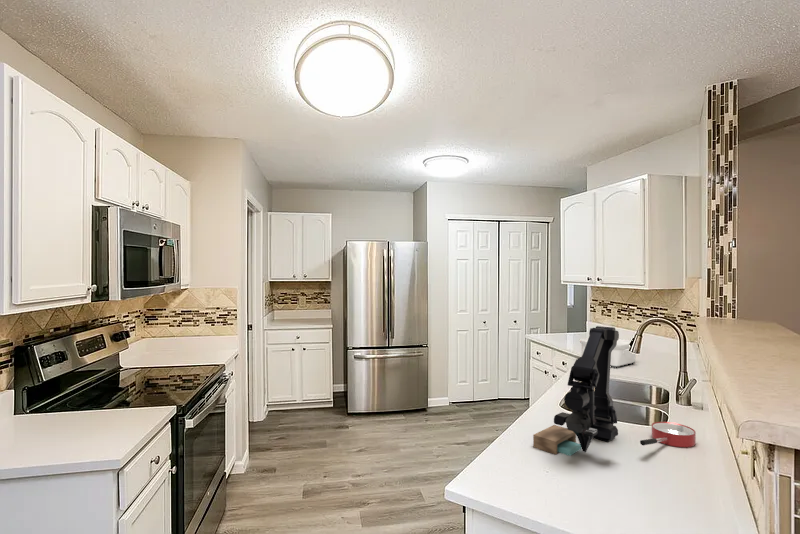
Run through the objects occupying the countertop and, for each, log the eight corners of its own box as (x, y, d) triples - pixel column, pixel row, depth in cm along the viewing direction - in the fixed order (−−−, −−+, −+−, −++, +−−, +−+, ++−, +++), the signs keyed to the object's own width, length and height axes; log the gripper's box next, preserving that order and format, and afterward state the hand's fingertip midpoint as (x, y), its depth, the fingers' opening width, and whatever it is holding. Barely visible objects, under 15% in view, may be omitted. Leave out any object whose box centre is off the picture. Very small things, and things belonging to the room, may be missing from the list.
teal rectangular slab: (581, 450, 143) (581, 444, 143) (570, 457, 138) (570, 451, 138) (552, 441, 150) (552, 436, 150) (541, 448, 145) (541, 442, 145)
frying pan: (675, 470, 128) (675, 448, 128) (628, 456, 137) (628, 436, 137) (699, 440, 150) (699, 422, 150) (657, 431, 160) (657, 413, 160)
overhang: (575, 443, 148) (575, 430, 148) (555, 454, 138) (555, 441, 138) (554, 436, 154) (554, 424, 154) (533, 447, 144) (533, 434, 144)
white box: (646, 365, 274) (645, 342, 274) (623, 371, 257) (623, 346, 257) (595, 356, 301) (595, 335, 301) (571, 361, 285) (571, 339, 285)
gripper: (545, 401, 140) (545, 449, 140) (602, 415, 126) (603, 469, 126) (562, 395, 148) (562, 440, 147) (618, 408, 134) (618, 458, 133)
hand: (584, 451), depth 138 cm, fingers closed
